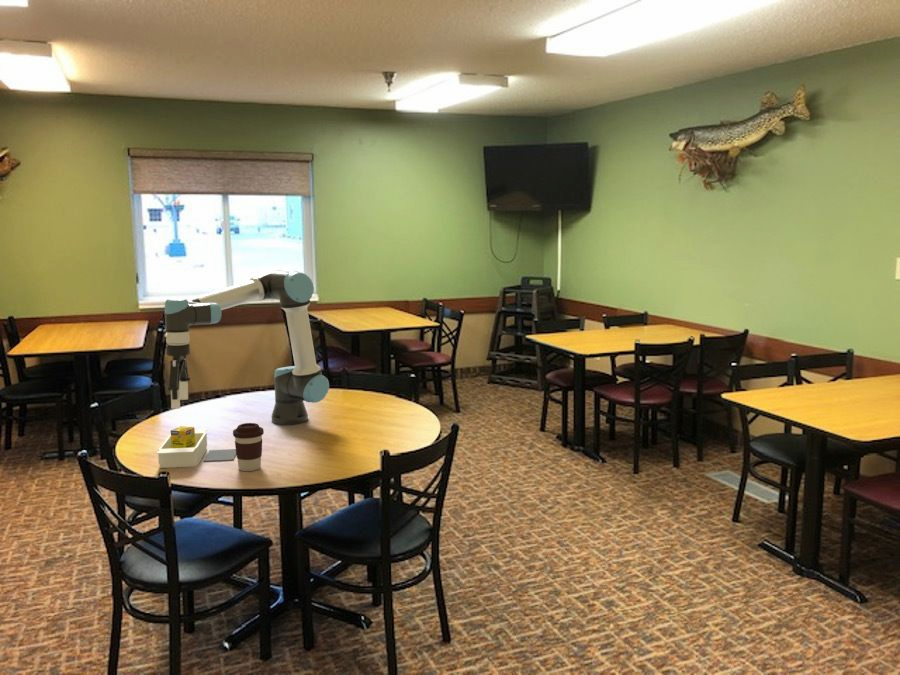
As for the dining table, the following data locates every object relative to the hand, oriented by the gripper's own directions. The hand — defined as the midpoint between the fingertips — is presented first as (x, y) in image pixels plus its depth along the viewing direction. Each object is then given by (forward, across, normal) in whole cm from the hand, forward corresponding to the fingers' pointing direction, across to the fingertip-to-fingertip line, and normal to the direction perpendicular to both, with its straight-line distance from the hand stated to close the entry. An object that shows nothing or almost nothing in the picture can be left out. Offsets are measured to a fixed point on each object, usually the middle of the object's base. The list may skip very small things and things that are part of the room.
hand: (180, 403), depth 242 cm
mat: (+20, -2, +13) cm, 24 cm away
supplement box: (+20, 0, +1) cm, 20 cm away
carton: (+20, 0, +1) cm, 20 cm away
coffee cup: (+20, +14, +25) cm, 34 cm away
